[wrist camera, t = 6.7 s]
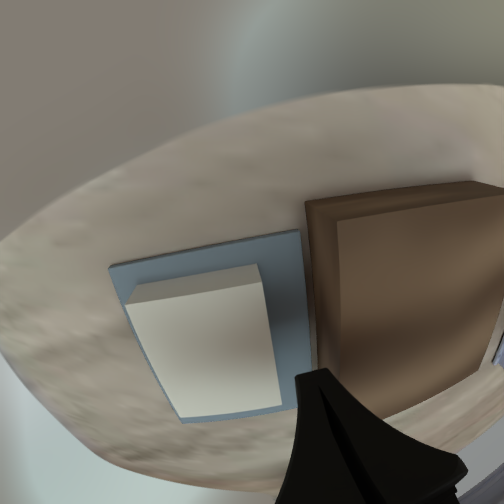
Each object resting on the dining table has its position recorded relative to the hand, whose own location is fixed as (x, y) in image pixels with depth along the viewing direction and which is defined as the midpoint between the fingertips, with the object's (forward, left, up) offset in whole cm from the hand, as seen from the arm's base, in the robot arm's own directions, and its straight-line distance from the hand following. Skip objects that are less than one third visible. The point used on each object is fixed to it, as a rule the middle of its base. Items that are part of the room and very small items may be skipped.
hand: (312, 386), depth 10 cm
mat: (-1, +4, -5) cm, 6 cm away
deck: (0, -8, -5) cm, 9 cm away
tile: (0, +4, -2) cm, 5 cm away
